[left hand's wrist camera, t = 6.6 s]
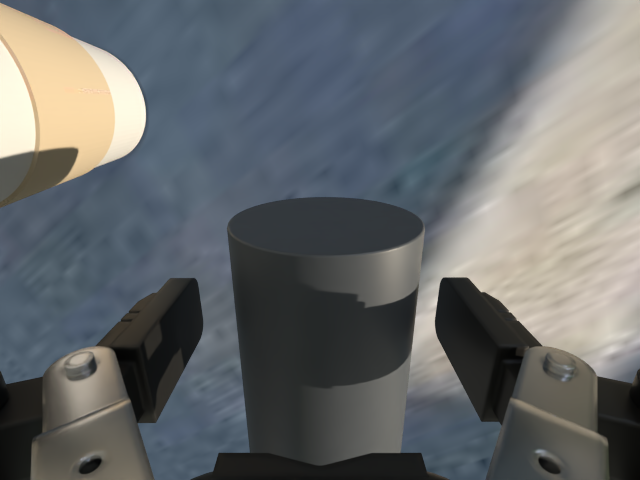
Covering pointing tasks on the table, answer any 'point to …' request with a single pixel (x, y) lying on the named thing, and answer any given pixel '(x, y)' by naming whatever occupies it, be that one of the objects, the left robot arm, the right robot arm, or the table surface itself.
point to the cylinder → (325, 324)
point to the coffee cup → (59, 107)
